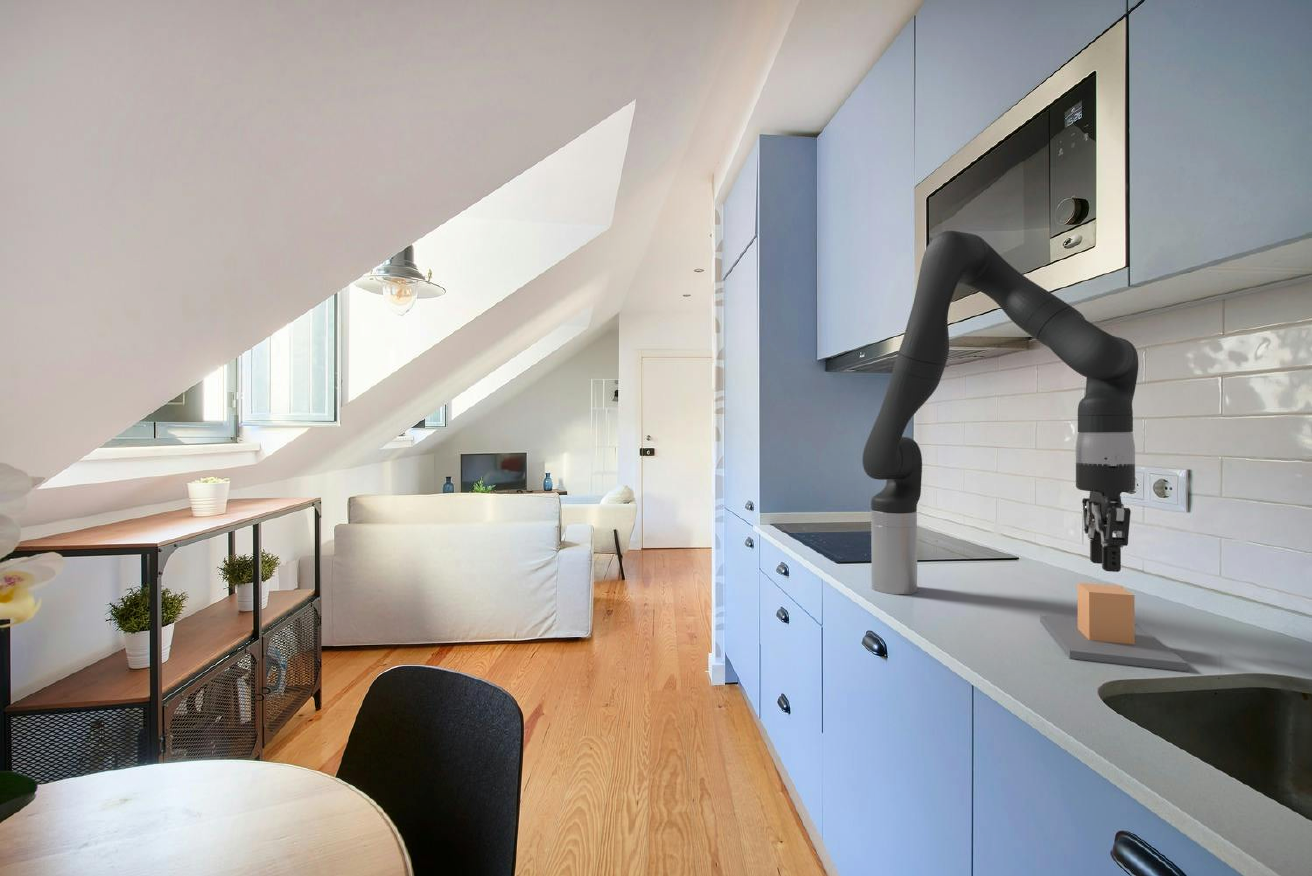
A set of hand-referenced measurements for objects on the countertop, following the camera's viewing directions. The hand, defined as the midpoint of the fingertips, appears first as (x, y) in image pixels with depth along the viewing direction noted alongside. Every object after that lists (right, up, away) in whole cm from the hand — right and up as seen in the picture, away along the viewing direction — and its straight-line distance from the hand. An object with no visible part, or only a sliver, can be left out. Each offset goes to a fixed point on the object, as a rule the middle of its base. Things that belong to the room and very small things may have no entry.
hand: (1104, 566), depth 93 cm
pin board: (0, -12, 0) cm, 12 cm away
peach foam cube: (0, -11, 0) cm, 11 cm away
